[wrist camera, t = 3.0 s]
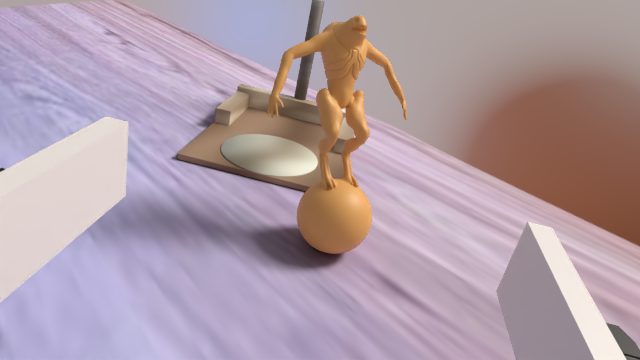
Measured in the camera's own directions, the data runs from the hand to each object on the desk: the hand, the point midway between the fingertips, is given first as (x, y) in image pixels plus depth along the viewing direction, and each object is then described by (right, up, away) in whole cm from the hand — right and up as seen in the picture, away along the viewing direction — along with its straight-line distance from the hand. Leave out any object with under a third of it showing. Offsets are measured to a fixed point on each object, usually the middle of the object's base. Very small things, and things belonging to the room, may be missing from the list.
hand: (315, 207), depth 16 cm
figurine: (0, -2, +12) cm, 12 cm away
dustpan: (-3, +4, +23) cm, 23 cm away
